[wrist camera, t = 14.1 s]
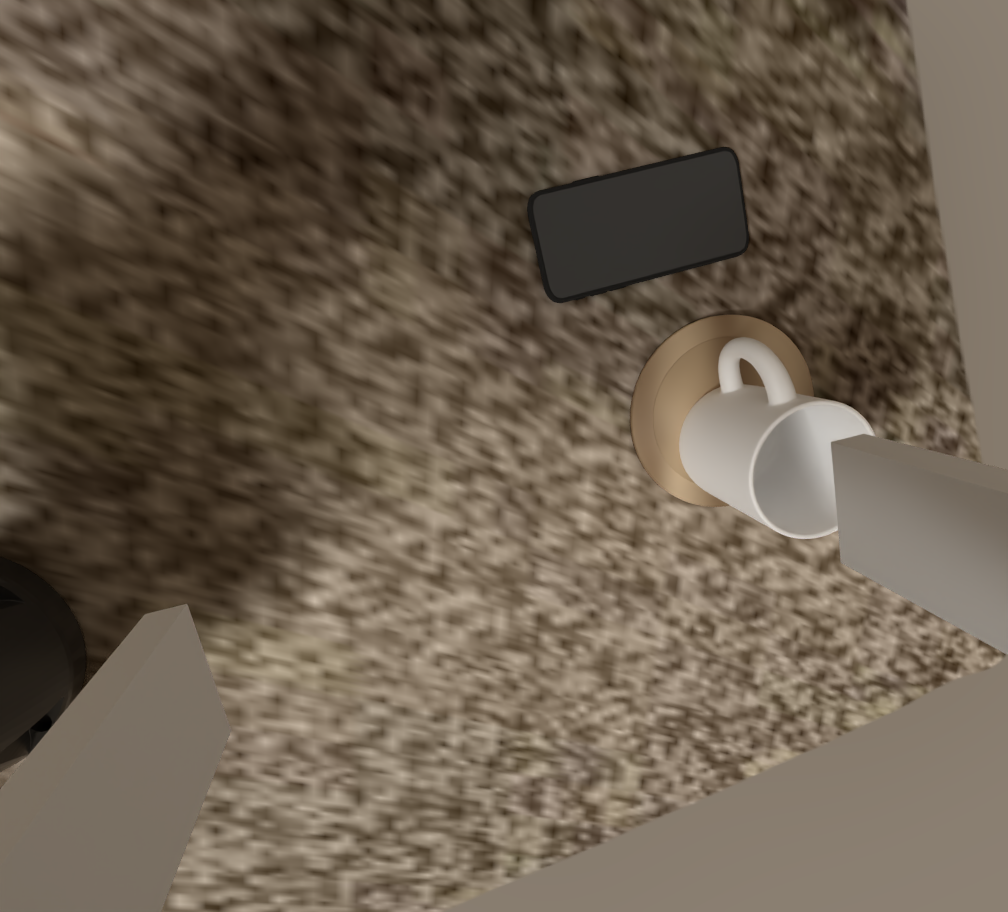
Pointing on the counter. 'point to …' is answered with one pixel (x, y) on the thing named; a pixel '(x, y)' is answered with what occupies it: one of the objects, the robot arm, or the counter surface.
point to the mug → (767, 444)
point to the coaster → (696, 392)
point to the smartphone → (638, 224)
